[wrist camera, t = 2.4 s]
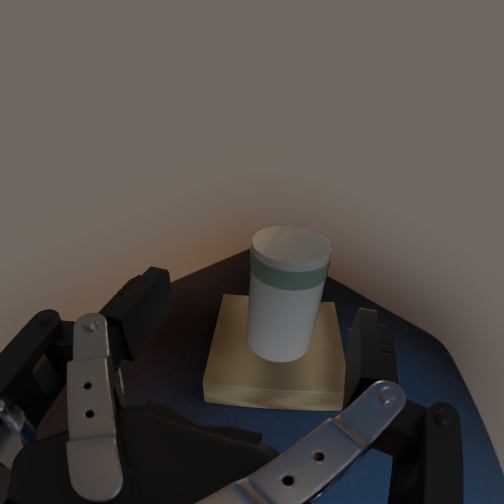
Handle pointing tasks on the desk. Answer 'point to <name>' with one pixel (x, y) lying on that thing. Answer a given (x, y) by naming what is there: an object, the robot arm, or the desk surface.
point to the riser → (274, 366)
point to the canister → (285, 290)
